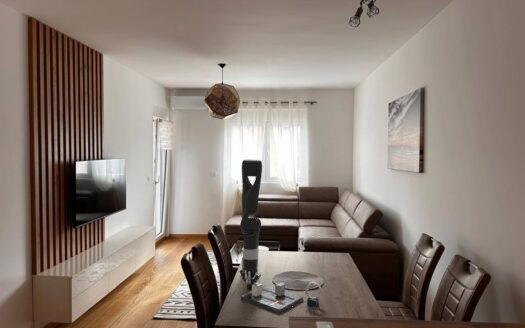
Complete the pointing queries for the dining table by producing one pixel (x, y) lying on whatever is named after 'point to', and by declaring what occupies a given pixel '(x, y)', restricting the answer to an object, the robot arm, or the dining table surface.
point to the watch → (312, 300)
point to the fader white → (257, 289)
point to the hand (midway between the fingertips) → (249, 290)
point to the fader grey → (280, 289)
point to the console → (273, 299)
